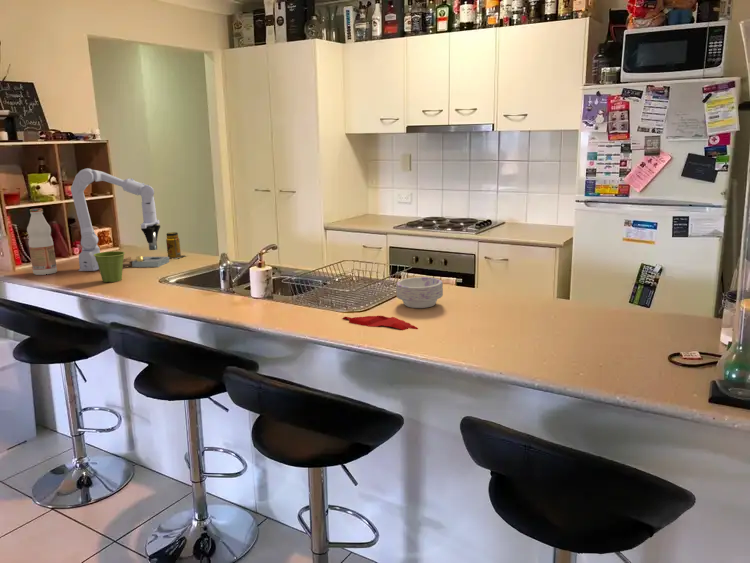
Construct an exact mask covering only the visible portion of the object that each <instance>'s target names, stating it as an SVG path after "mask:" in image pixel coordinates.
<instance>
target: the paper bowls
mask: <svg viewBox="0 0 750 563" xmlns="http://www.w3.org/2000/svg"><path fill="white" fill-rule="evenodd" d="M443 284H444V283H443V280H442V279H439V278H435V277H428V276H421V277H420V276H417V277H407V278H403V279H401V280H398V281H397V282H396V284H395V285H396V286H395V287H396V297H397V298H398V299H399V300H401V301H402V303H403V305H404V306H406V307H408V308H411V309H426V308H431V307H433V306H435V305H436V304H437V301H438V300H439V299H441V298H442V297H443V295H444V289H443V288H444V287H443Z"/></svg>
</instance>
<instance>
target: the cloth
mask: <svg viewBox="0 0 750 563" xmlns="http://www.w3.org/2000/svg"><path fill="white" fill-rule="evenodd" d="M341 320H348V324H353V325H358V326H366V327H370V328H376V327H381V326H382V327H391V328H392V329H397V330H401V331H406V330H410V329H411V330H419V327H417V326H415V325H414V324H411V323H410V322H406V321H405V320H403V319H402V320H401V319H399V318H397V317H394V316H391V317H388V316H384V315H365V316H355V317H350V316H349V317H348V316H343V318H341Z"/></svg>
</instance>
